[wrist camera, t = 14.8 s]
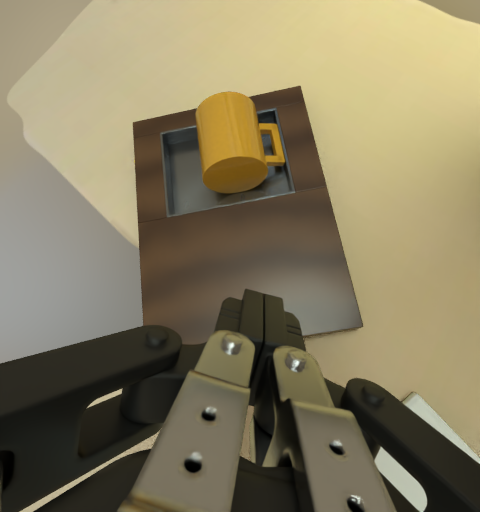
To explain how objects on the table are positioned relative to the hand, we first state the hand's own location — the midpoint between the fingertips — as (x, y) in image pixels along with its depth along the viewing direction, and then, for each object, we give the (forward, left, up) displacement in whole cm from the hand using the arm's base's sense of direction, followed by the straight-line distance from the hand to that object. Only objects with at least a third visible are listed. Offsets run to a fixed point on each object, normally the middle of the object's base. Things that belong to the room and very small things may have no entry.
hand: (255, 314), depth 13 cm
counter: (-9, -12, -23) cm, 27 cm away
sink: (-14, -17, -23) cm, 31 cm away
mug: (-13, -13, -19) cm, 26 cm away
